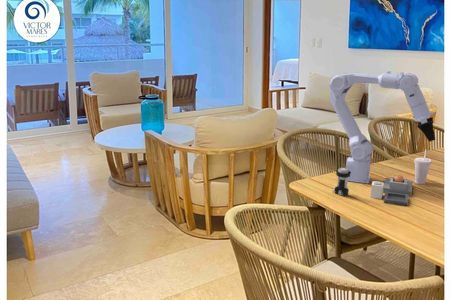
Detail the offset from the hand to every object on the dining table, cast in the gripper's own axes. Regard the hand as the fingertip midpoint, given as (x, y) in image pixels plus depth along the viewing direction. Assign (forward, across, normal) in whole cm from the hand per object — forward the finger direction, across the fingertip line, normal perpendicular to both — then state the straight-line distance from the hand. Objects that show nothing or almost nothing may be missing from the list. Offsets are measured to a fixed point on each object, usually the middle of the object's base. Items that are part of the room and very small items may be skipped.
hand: (432, 139), depth 174 cm
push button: (+6, -12, +37) cm, 39 cm away
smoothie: (+17, +13, +11) cm, 24 cm away
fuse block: (+12, -9, +25) cm, 29 cm away
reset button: (+11, -1, +17) cm, 20 cm away
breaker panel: (+14, +2, +18) cm, 23 cm away
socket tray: (+15, -10, +19) cm, 26 cm away
